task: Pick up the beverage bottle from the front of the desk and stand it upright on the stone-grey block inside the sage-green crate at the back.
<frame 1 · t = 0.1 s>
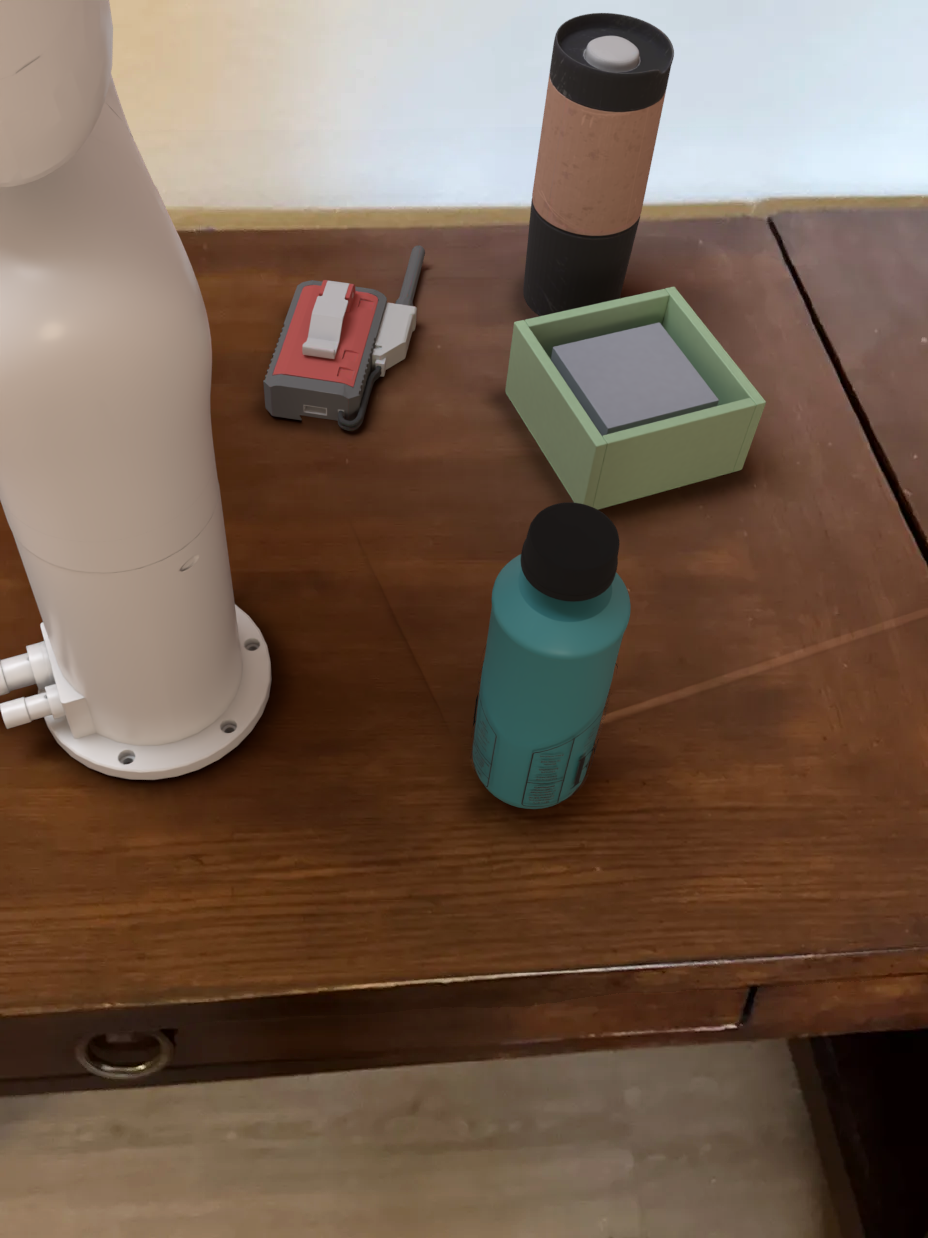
beverage bottle: (524, 775, 66), on the table
walkie-talkie: (350, 343, 87), on the table
block: (621, 429, 82), resting on crate
travel mug: (569, 305, 91), on the table
crate: (619, 437, 83), on the table
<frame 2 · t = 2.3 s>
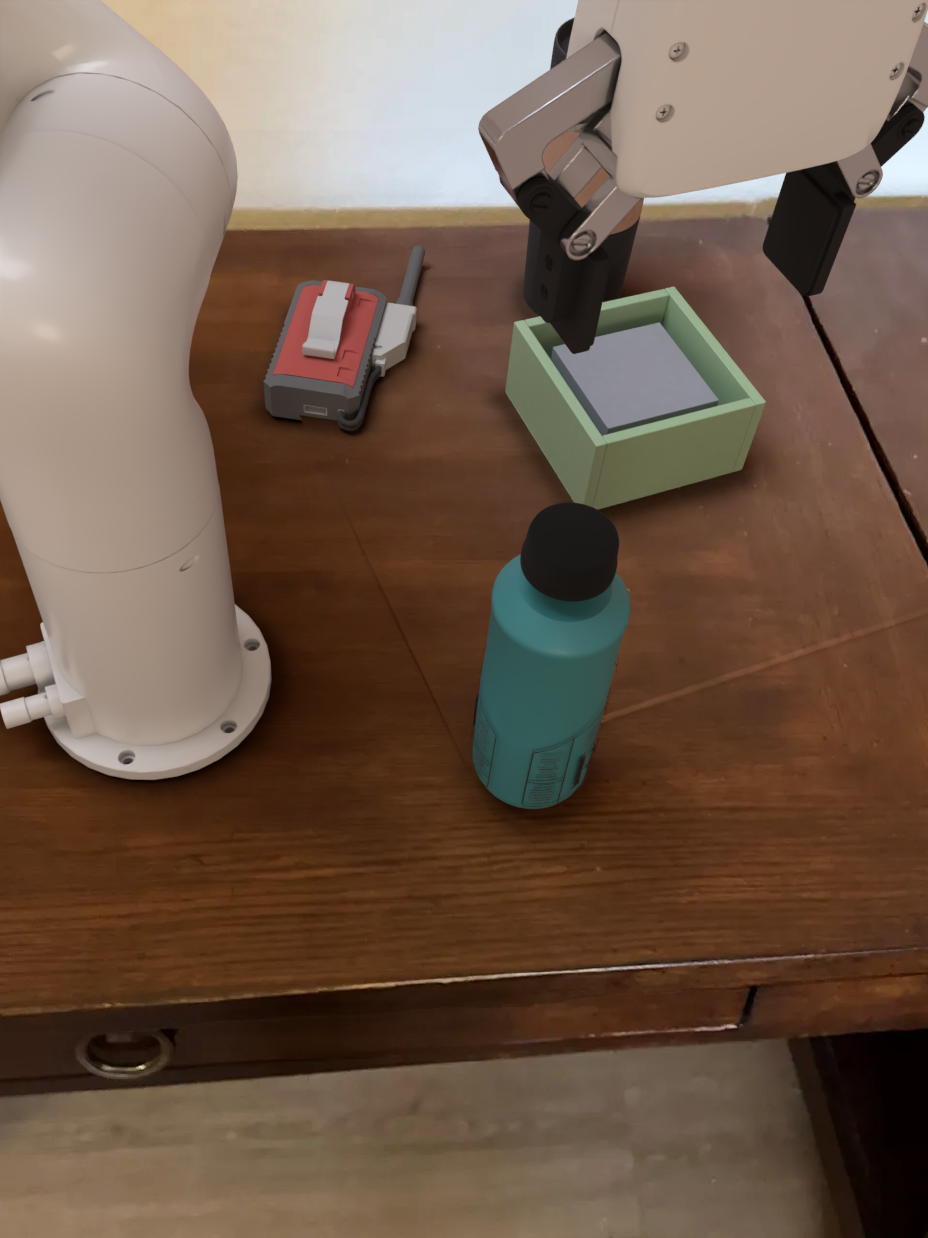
hand: (680, 299, 44), 30 cm above the table, tool pointing down, fingers open, 9 cm apart
nothing on the table moved.
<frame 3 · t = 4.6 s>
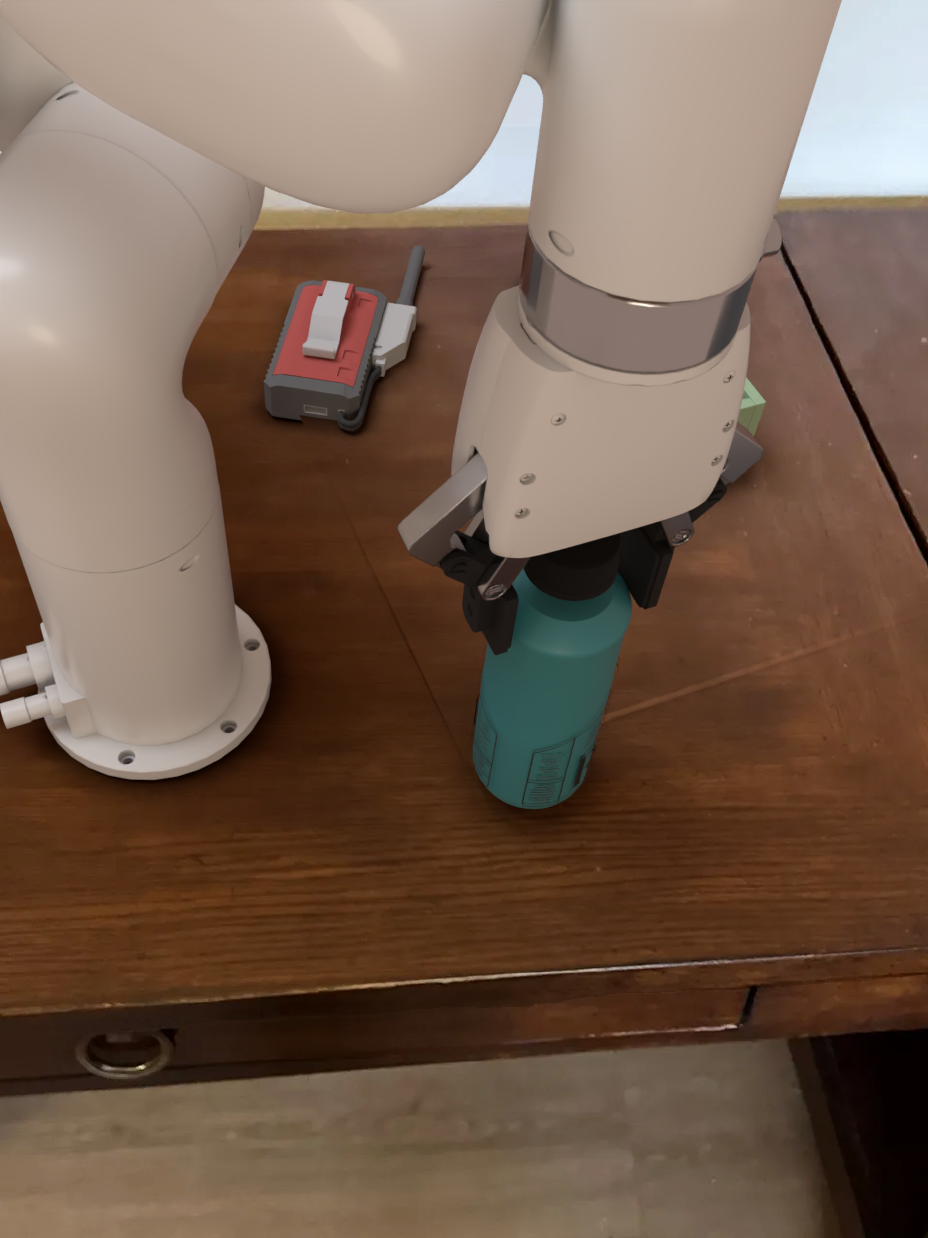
hand: (562, 604, 54), 15 cm above the table, tool pointing down, fingers closed on beverage bottle, 6 cm apart
beverage bottle: (524, 775, 66), on the table, touching gripper
everything else where it was.
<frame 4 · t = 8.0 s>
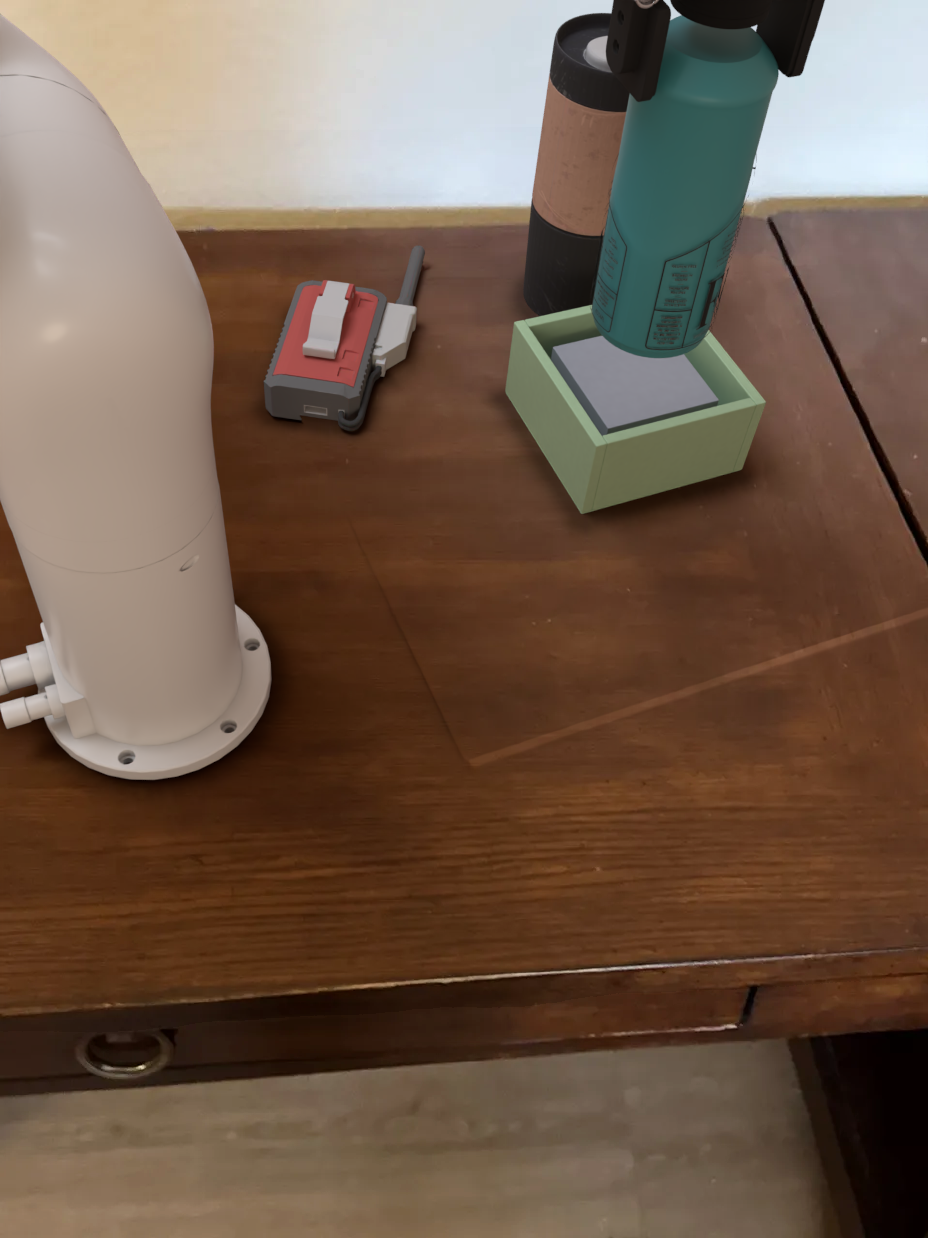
hand: (705, 69, 53), 31 cm above the table, tool pointing down, fingers closed on beverage bottle, 6 cm apart
beverage bottle: (642, 344, 65), point 16 cm above the table, touching gripper
everything else where it was.
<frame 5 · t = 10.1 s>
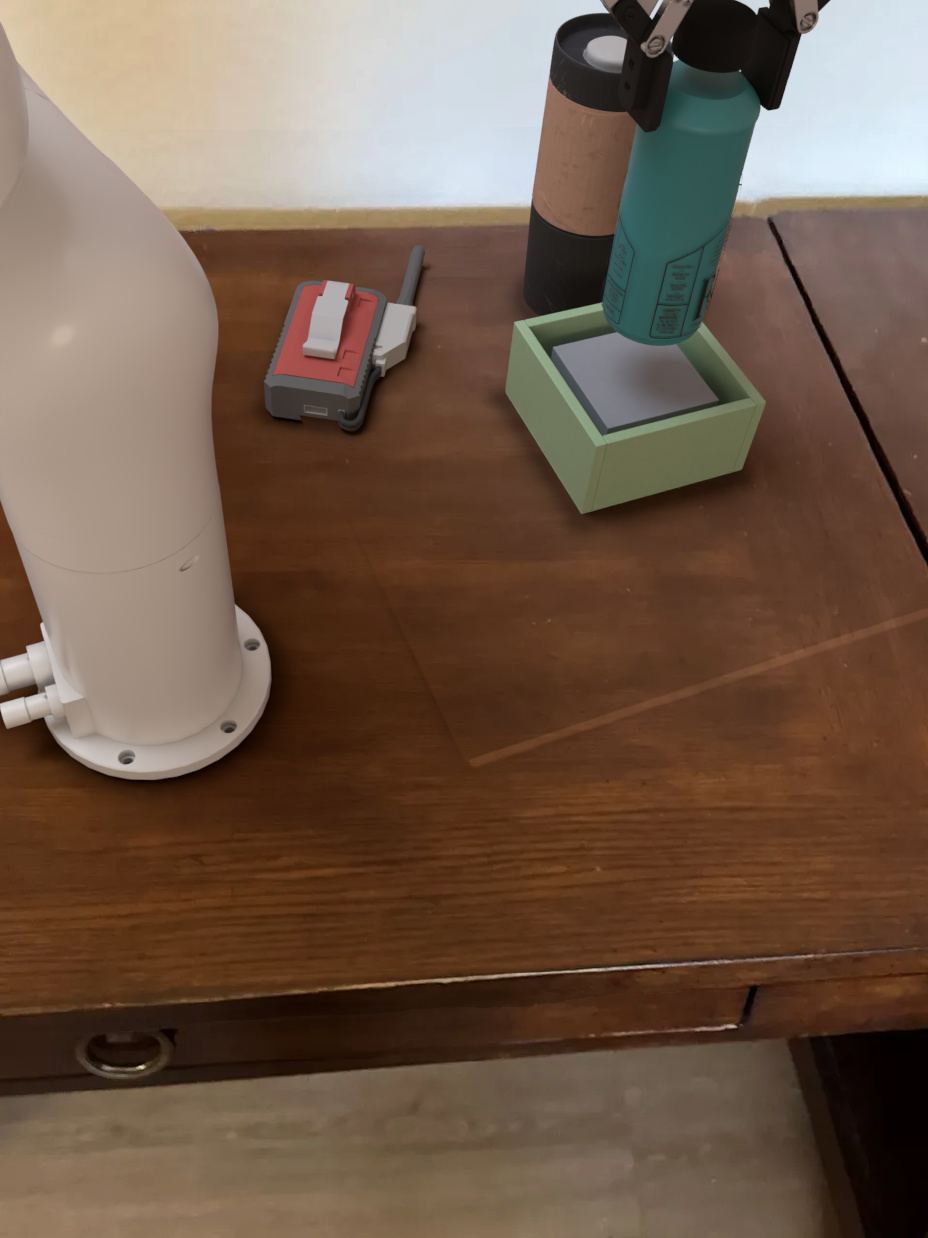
hand: (699, 104, 63), 24 cm above the table, tool pointing down, fingers closed on beverage bottle, 6 cm apart
beverage bottle: (644, 335, 75), point 9 cm above the table, touching gripper
everything else where it was.
when the fingers open (21 cm above the table, at t = 11.6 s): beverage bottle stays where it is, resting on block.
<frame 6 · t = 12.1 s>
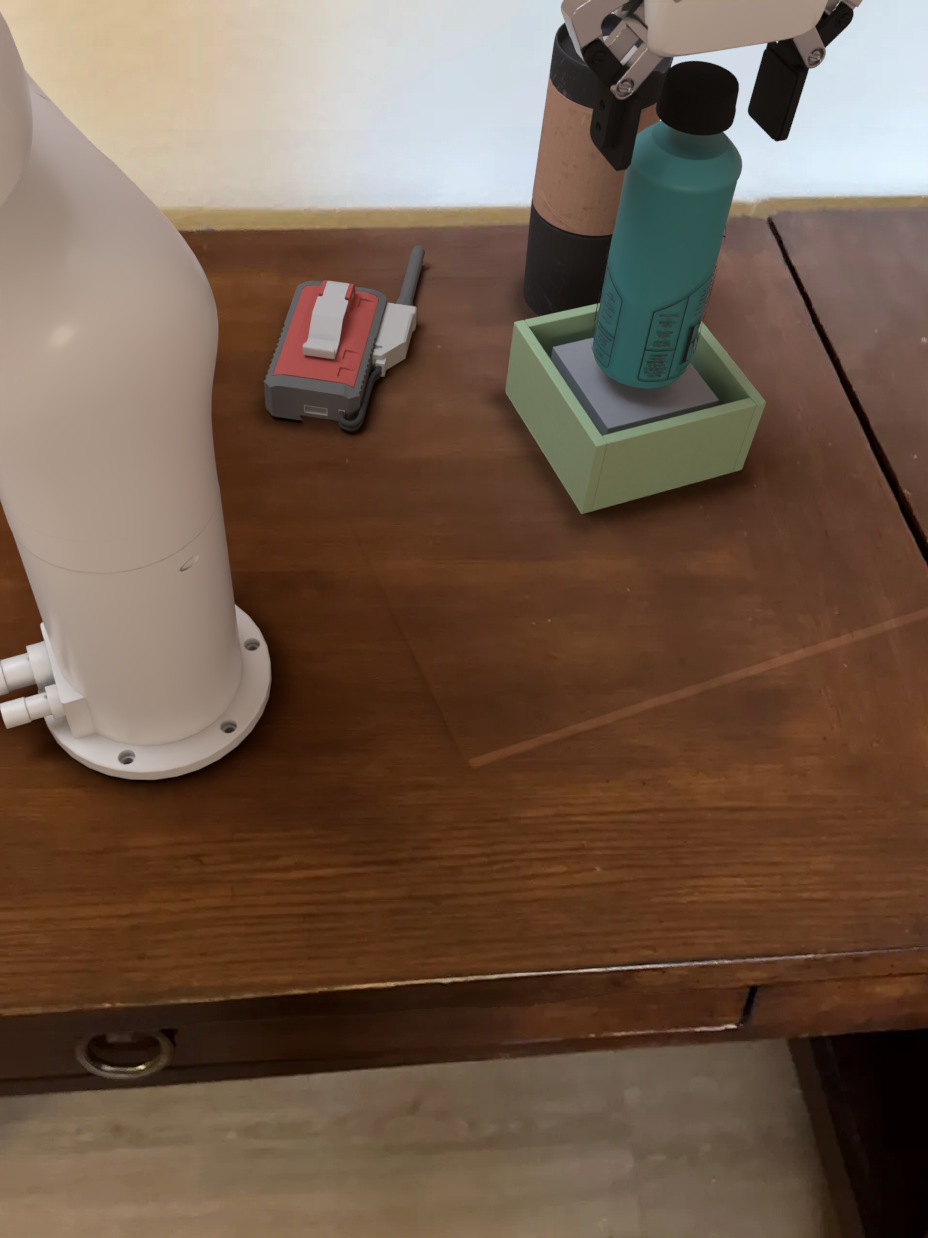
hand: (689, 141, 65), 22 cm above the table, tool pointing down, fingers open, 9 cm apart
beverage bottle: (633, 376, 78), point 6 cm above the table, touching block
everything else where it was.
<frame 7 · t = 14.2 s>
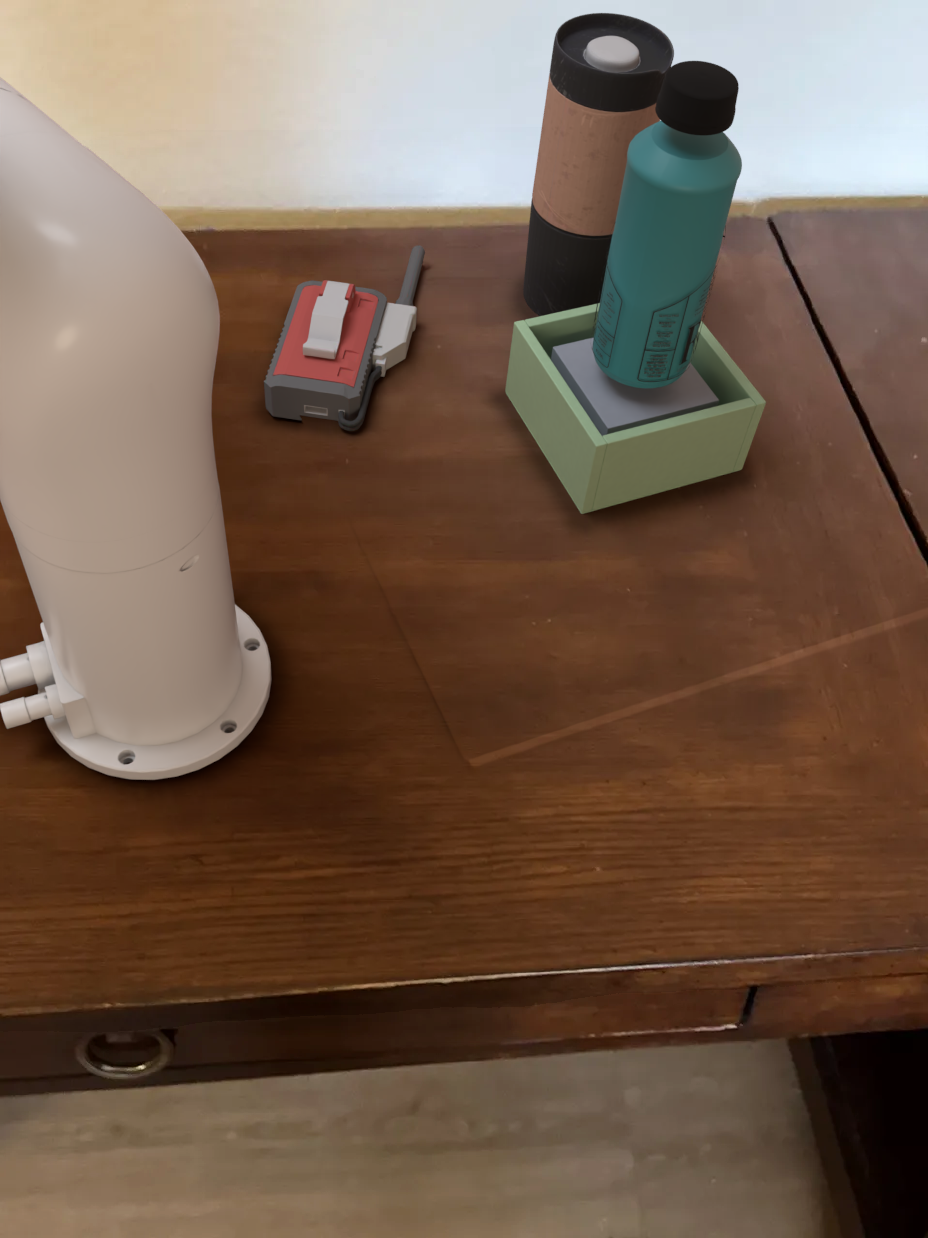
nothing on the table moved.
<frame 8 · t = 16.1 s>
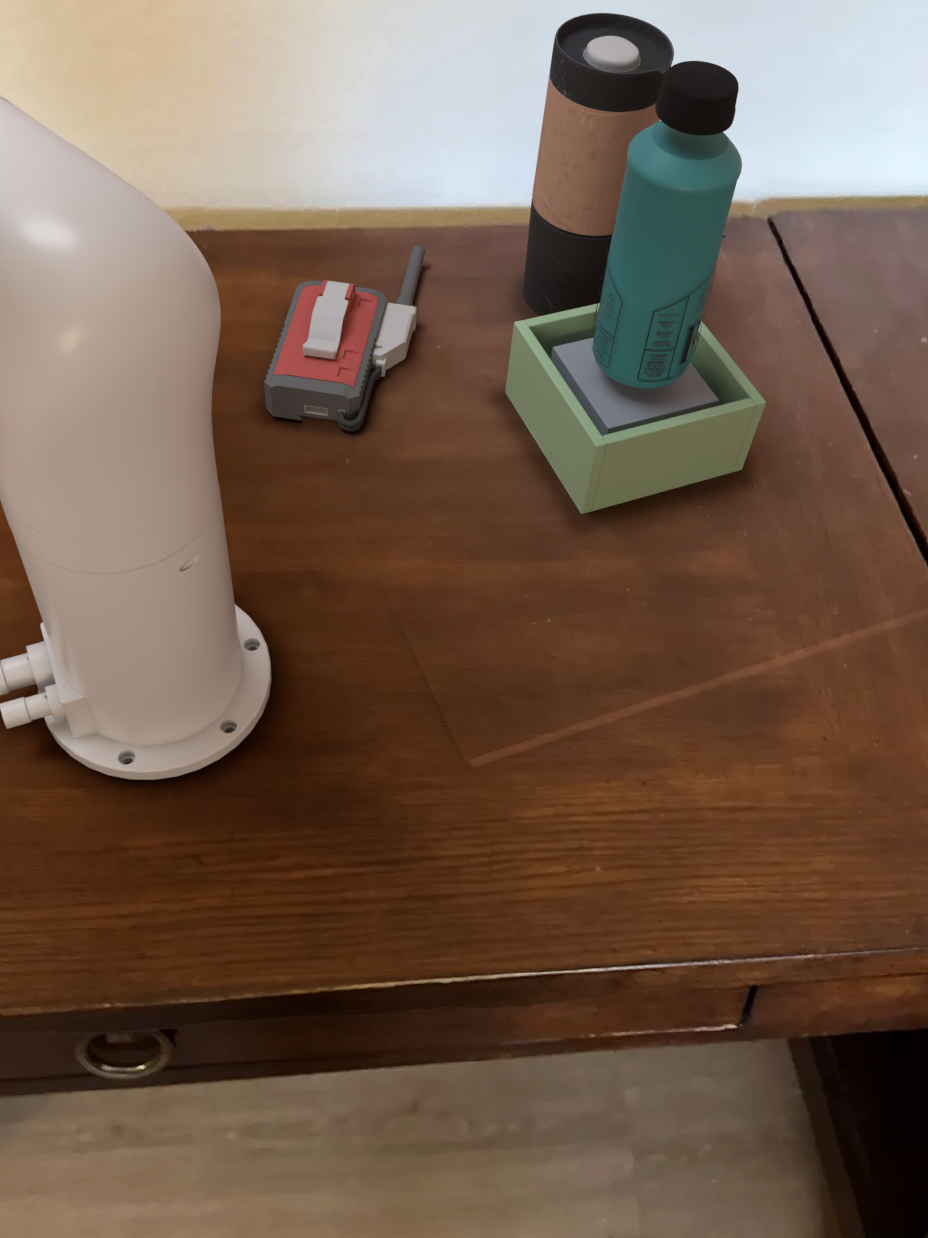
nothing on the table moved.
at the end: beverage bottle 0.1 cm off-centre on the block, point 4.8 cm above the block's base; beverage bottle tilted 0° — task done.
